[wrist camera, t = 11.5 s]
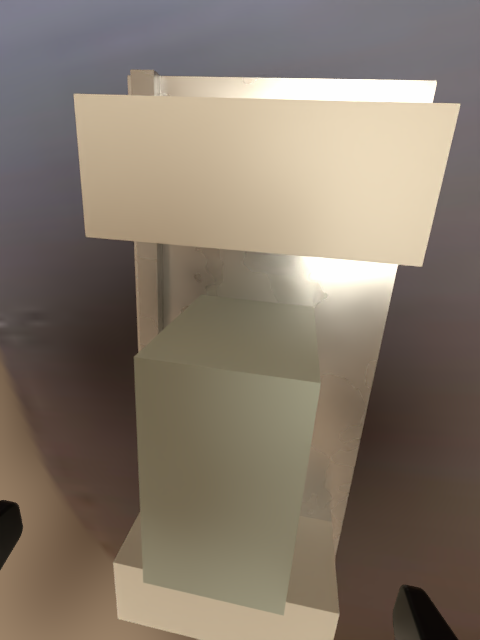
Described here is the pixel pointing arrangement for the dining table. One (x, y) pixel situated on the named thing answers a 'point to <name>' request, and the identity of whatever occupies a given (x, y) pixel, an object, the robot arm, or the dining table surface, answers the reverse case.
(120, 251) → the dining table surface
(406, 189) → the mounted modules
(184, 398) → the block
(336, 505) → the rail plate
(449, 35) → the dining table surface
